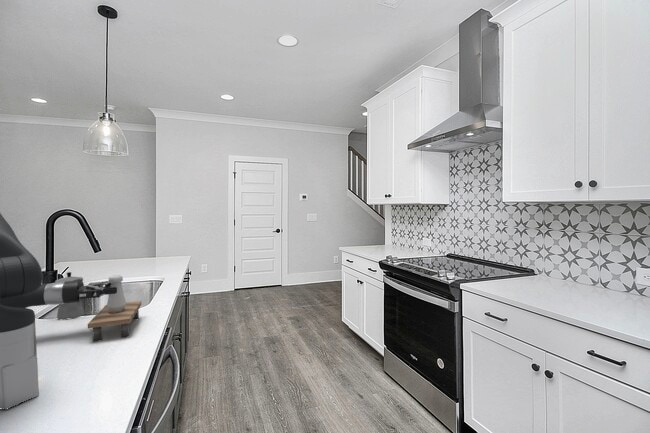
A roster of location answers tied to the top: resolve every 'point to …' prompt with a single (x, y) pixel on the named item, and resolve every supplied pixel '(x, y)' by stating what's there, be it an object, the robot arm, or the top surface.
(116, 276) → the salt shaker
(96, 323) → the slatted wooden bench
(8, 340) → the robot arm
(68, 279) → the coffeepot
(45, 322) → the top surface
